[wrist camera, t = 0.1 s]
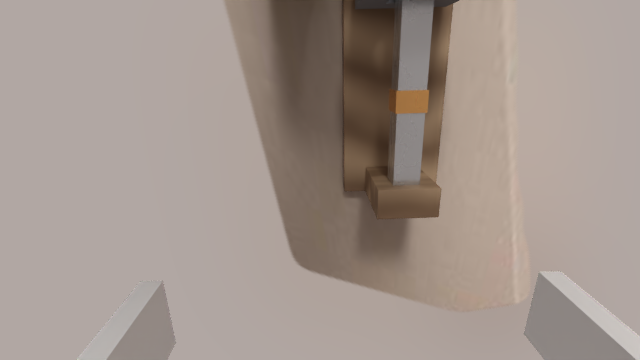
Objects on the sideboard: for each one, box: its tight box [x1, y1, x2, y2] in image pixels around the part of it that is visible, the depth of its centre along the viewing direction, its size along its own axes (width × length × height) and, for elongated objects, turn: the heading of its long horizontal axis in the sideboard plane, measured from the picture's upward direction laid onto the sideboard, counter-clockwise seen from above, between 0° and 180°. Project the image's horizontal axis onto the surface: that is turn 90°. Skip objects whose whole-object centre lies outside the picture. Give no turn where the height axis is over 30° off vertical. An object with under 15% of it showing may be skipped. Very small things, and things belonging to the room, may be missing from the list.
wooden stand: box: [343, 0, 453, 219], centre depth 31 cm, size 27×11×9 cm, turn 2°
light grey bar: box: [388, 0, 434, 186], centre depth 29 cm, size 22×3×3 cm, turn 2°
